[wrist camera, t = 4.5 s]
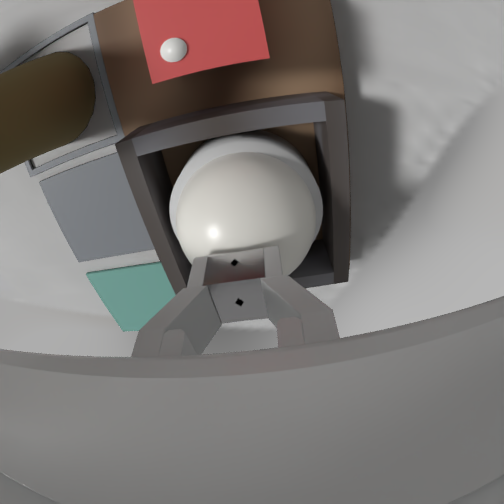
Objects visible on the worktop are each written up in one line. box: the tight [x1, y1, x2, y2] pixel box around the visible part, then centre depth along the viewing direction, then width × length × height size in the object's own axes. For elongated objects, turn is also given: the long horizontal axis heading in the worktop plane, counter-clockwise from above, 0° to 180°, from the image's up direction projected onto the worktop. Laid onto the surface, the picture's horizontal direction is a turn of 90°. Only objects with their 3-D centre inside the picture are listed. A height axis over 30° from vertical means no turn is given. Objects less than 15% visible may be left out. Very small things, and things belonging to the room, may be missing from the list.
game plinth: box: [93, 0, 351, 295], centre depth 13 cm, size 11×18×4 cm, turn 10°
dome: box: [169, 130, 323, 275], centre depth 13 cm, size 7×7×6 cm
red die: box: [133, 0, 270, 84], centre depth 9 cm, size 4×4×4 cm
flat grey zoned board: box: [0, 13, 176, 331], centre depth 17 cm, size 8×23×1 cm, turn 10°
